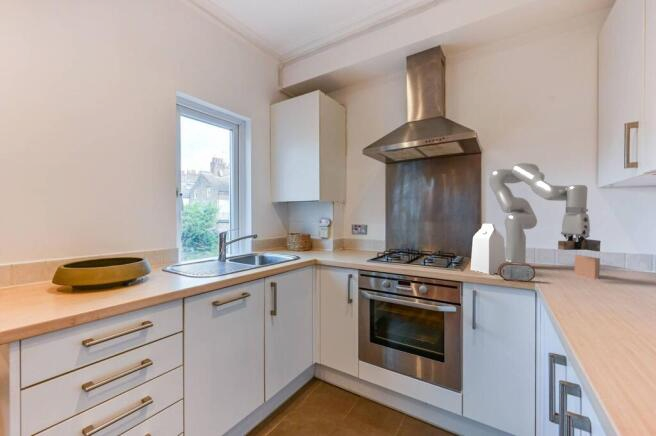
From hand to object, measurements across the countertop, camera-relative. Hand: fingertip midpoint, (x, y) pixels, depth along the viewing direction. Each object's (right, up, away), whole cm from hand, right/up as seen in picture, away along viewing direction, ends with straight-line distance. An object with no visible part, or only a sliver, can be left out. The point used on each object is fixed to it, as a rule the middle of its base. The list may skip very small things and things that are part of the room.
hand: (573, 248), depth 136 cm
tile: (+12, -15, +6) cm, 20 cm away
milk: (-32, -15, +17) cm, 39 cm away
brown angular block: (-1, 0, 0) cm, 1 cm away
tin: (-30, -15, -3) cm, 33 cm away
